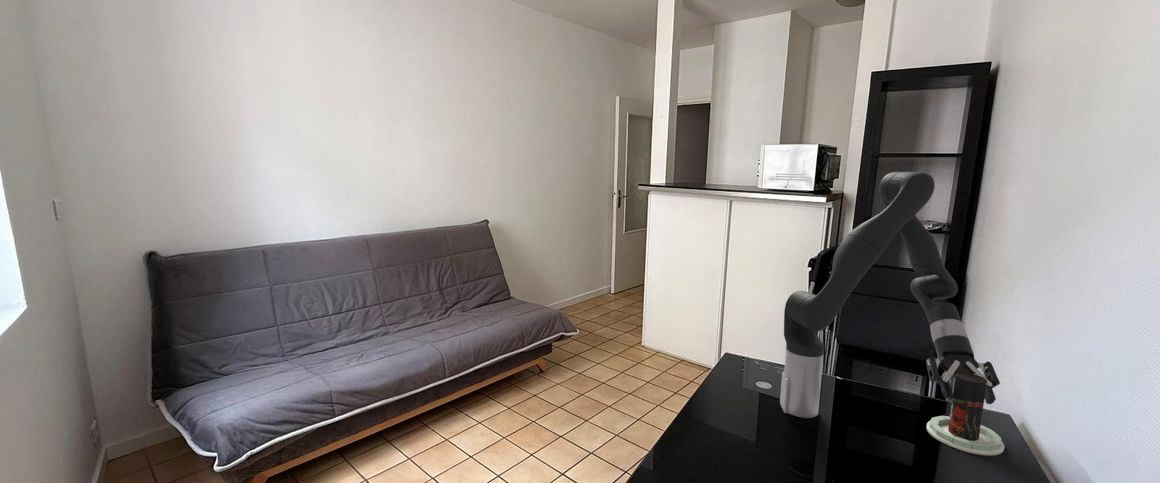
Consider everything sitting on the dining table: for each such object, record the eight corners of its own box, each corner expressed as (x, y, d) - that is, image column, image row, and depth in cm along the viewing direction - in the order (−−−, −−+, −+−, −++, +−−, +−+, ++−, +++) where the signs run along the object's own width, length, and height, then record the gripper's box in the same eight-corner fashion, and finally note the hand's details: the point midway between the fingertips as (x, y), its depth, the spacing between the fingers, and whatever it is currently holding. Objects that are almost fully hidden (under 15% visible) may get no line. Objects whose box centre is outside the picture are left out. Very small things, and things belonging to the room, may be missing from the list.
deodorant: (984, 442, 113) (993, 383, 110) (956, 439, 114) (964, 381, 112) (969, 429, 118) (977, 373, 116) (943, 426, 119) (950, 371, 117)
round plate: (945, 450, 110) (946, 442, 110) (915, 418, 125) (916, 411, 124) (1019, 459, 107) (1021, 451, 107) (980, 425, 122) (981, 418, 121)
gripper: (926, 331, 122) (944, 392, 112) (989, 336, 119) (1013, 399, 109) (914, 343, 128) (930, 402, 118) (974, 348, 125) (996, 409, 115)
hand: (970, 400), depth 114 cm, fingers open, 8 cm apart
